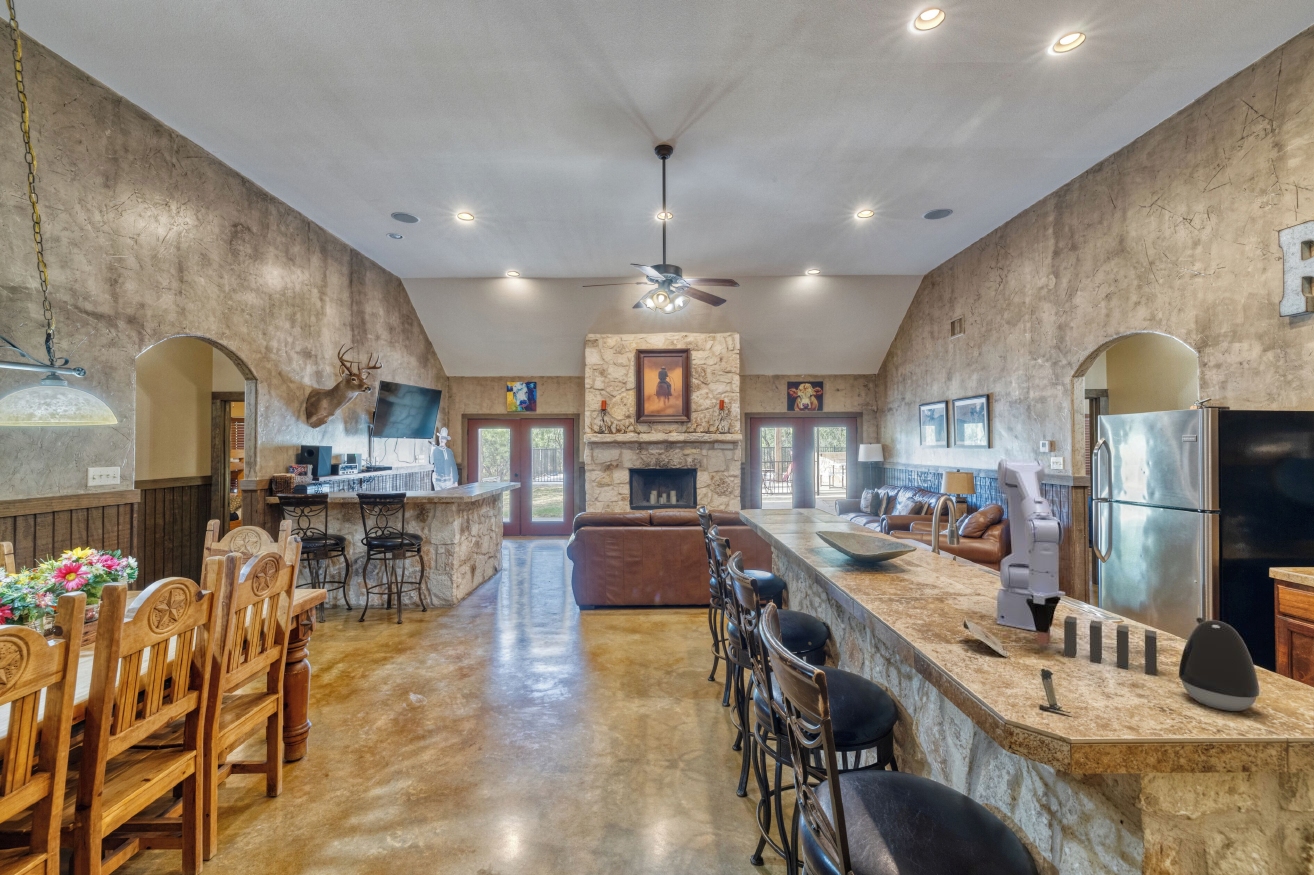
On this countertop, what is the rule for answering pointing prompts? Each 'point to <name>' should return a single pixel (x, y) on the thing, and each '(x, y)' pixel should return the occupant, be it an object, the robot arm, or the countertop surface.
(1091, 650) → the domino
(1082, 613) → the countertop surface
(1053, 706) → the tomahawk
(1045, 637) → the loose domino
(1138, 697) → the countertop surface
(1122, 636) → the domino
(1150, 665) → the domino
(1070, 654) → the domino
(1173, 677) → the countertop surface
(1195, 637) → the black and grey speaker
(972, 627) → the wooden slab
